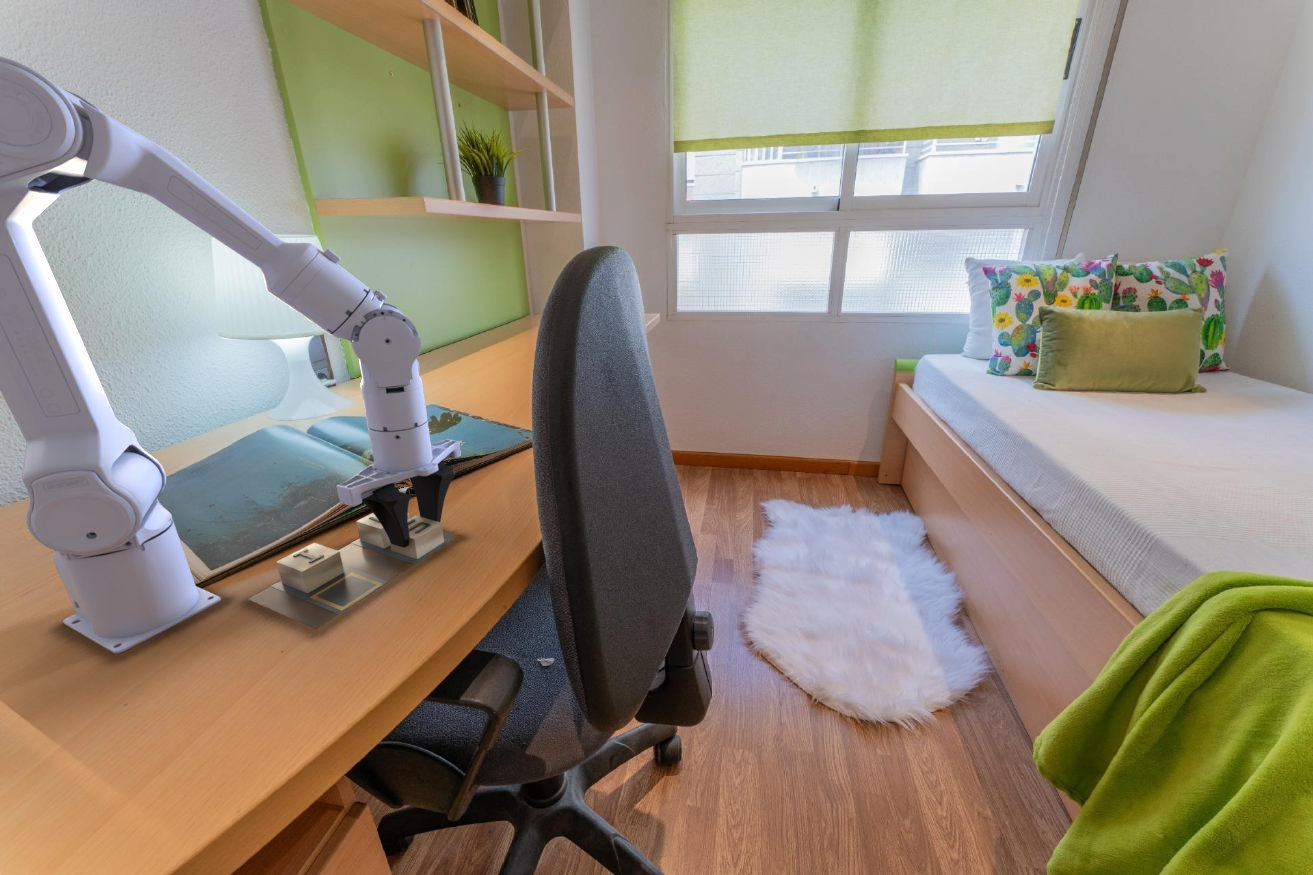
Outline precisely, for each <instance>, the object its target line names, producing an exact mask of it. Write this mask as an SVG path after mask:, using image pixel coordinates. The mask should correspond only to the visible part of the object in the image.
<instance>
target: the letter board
mask: <svg viewBox="0 0 1313 875" xmlns="http://www.w3.org/2000/svg"><path fill="white" fill-rule="evenodd" d="M443 537H444V542H443V543H442V544H440V545H439V546H437V547H436V548H434V549H432V550H431V551H429V552H428V553H426V554H425V555H423V556H422V557H420V558H419V559H415V558H412V557H409V556H406V555H403V554H400V553H397V552H394V551H391V546H388V547H387V548H385V549H384V548H381V547H378V546H375V545H372V544H369V543H366V542H363V541H360V537H359V538H357V539H355V540H354V541H352V542H350V544H347V545H345V546H344V547H342V548H340V549H338V550H337V551H340V555H341V559H342V564H343V568H344V573H342V574H340V575H339V576H337V577H335V578H333V579H332V580H330V581H328V582H327V583H325V584H323V585H322V586H320V587H318V588H316V589H315V590H313V591H311V592H310V593H305V592H303V591H300V590H298V589H295V588H293V587H291V586H288V585H286V584H283V583H282V581H281V580H279V581H277V582H276V583H274V584H272V585H270V587H268V588H266V589H264V590H262V591H260V592H258V593H256V594H255V595H253V596H251V597H249V598H248V599H247V600H248V601H251V602H253V603H255V604H257V605H260V606H262V607H264V608H267V609H269V610H271V611H273V612H275V613H278V614H280V615H281V616H285V617H287V618H289V619H291V620H293V621H296V622H298V623H301V624H303V625H305V626H308V627H310V628H311V629H314V630H317V629H319V628H320V627H322V626H323V625H325V624H327V623H328V622H329V621H331V620H333V619H335V618H336V617H337V616H339V615H340V614H342V613H344V612H345V611H347V610H348V609H350V608H351V607H353V606H354V605H356V604H357V603H359V602H361V601H362V600H363V599H365V598H367V597H368V596H370V595H371V594H373V593H374V592H376V591H378V590H379V589H380V588H382V587H383V586H385V585H387V584H388V583H389V582H391V581H392V580H394V579H395V578H397V577H399V576H400V575H401V574H403V573H404V572H406V571H408V570H409V569H411V568H412V567H414V566H415V565H417V564H418V563H420V562H421V561H423V560H425V559H426V558H428V557H429V556H431V555H433V553H435V552H437V551H438V550H439V549H441V548H443V547H445V546H446V545H447V544H449V543H451V542H452V541H454V540H455V539H456V538H458V537H460V534H457V533H453V532H449V531H446V530H443Z"/></svg>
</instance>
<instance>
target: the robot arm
mask: <svg viewBox="0 0 1313 875" xmlns="http://www.w3.org/2000/svg"><path fill="white" fill-rule="evenodd" d="M93 181H98V182H102V183H105V184H108V185H112V186H116V187H119V188H122V189H127V190H130V191H132V192H133V191H134V192H137V193H141V194H143V195H147V196H149V197H151V198H153V199H155V200H156V201H158V202H160V203H161V204H163V205H164V206H166V207H167V208H168V209H170V210H172V211H173V212H175V213H176V214H177V215H179V216H181V217H182V218H184V219H185V220H187V221H188V222H189V223H191V224H192V225H194V226H196V227H197V228H199V229H200V230H202V231H203V232H204V233H206V234H208V235H209V236H211V237H212V238H214V239H215V240H216V241H218V242H220V243H222V244H223V245H224V246H225V247H227V248H228V249H230V250H231V251H233V252H235V253H237V254H238V256H239V255H240V256H241V257H242V258H244V259H245V260H247V261H249V262H250V263H251V264H252V265H254V266H256V268H257V267H258V268H259V269H260V271H261V273H262V276H263V280H264V285H265V289H266V291H267V293H269V294H270V295H271V296H273V297H274V298H276V299H277V300H279V301H280V302H282V303H283V304H285V306H288V307H289V308H290V309H292V310H293V311H295V312H297V313H298V314H300V315H301V316H302V317H304V318H305V319H307V320H308V321H310V322H311V323H313V324H314V325H316V327H318V328H320V329H321V330H323V331H324V332H325V333H327V334H329V335H330V336H331V337H333V338H335V339H343V340H346V341H348V342H350V343H351V348H352V350H353V352H354V355H355V356H356V358H358V362H359V363H358V364H359V367H360V373H361V381H360V383H359V384H360V385H359V386H360V391H361V398H362V402H363V408H364V413H365V419H366V424H367V425H366V426H367V430H368V436H369V441H370V446H371V447H370V448H371V452H372V459H373V462H372V463H371V464H369V465H368V466H366V467H365V468H364V469H362V470H360V471H359V472H358V473H356V474H355V475H353V476H352V477H350V478H349V479H347V480H345V481H343V482H341V483H339V484H336V485H335V486H336V492H337V496H338V502H339V504H343V505H346V506H350V507H352V508H354V507H357V506H359V505H360V504H362V503H363V504H364V505H365V506H366V507H367V508H368V509H369V510H370V512H372V513H374V515H375V516H376V517H377V519H378V520H379V522H380V523H381V525H382V526H383V528H384V530H385V532H386V534H387V536H388V538H389V540H390V542H391V544H393V545H396V546H399V547H403V548H405V547H406V546H408V545H409V538H410V536H409V528H408V520H407V519H408V513H409V504H410V500H411V495H412V494H410V493H407V492H406V493H402V492H400V491H399V487H396V484H398V483H400V482H403V481H405V480H410V481H411V483H412V486H411V487H412V489H413V491H414V494H415V497H416V502H417V507H418V512H419V516H420V517H423V518H426V519H430V520H433V521H437V522H441V523H442V515H443V509H444V503H445V499H446V496H447V492H448V490H449V488H450V485H451V483H452V481H453V479H454V477H455V468H454V467H453V466H451V465H447V464H446V463H444V461H445V460H447V459H449V458H450V459H457V458H461V457H460V456H461V449H460V440H456V439H450V438H445V439H443V440H440V441H436V442H433V443H432V442H431V435H430V427H429V421H428V414H427V405H426V399H425V392H424V384H423V378H422V377H421V376H420V362H419V361H418V358H419V355H420V353H421V350H422V345H423V343H422V342H423V340H422V338H421V337H419V332H418V331H417V328H416V326H415V325H414V323H413V322H412V321H411V320H410V318H408V317H407V316H406V315H405V314H404V313H403V312H402V311H401V310H400V309H399V308H398V306H396V305H395V304H392V303H389V302H387V301H386V300H387V298H388V296H387V294H385V293H384V292H383V291H381V289H378V288H377V289H376V290H372V289H371V288H370V287H369V286H368V285H366V284H365V283H364V282H362V281H361V280H359V279H358V278H357V277H355V275H353V274H352V273H351V272H349V271H348V270H346V268H344V267H343V266H342V265H340V264H339V262H340V261H341V257H340V256H339V255H338V254H337V253H335V252H334V251H333V250H331V249H330V248H326V249H325V250H324V251H322V250H320V248H318V247H317V246H315V244H313V243H310V242H285V241H284V240H283V239H282V238H280V237H279V236H278V235H276V234H275V233H274V232H273V231H271V230H270V229H269V228H268V227H266V226H265V225H263V223H261V222H260V221H258V219H256V218H255V217H254V216H252V215H251V214H250V213H249V212H247V211H246V210H245V209H243V208H242V207H241V206H239V204H237V203H235V201H233V200H232V199H231V198H229V197H228V196H227V195H226V194H224V193H223V192H222V191H221V190H219V189H218V188H217V187H216V186H214V185H213V184H211V183H210V182H209V181H207V180H206V179H205V178H204V177H203V176H201V175H200V174H199V173H198V172H196V171H195V170H194V169H192V168H191V167H190V166H189V165H187V164H186V163H185V162H184V161H182V160H181V159H180V158H178V157H177V156H176V155H175V154H174V153H172V152H171V151H169V150H168V149H166V148H165V147H163V146H161V145H159V144H158V143H156V142H154V141H153V140H151V139H149V138H148V137H146V136H145V135H143V134H141V133H140V132H138V131H136V130H135V129H132V128H131V127H129V126H127V125H126V124H124V123H122V122H121V121H119V120H117V119H115V118H113V117H112V116H110V115H108V114H107V113H104V112H103V111H102V110H101V109H99V107H97V106H96V105H95V104H94V103H92V102H91V101H89V100H88V99H85V98H84V97H82V96H80V95H78V94H76V93H74V92H72V91H69V90H67V89H64V88H62V87H61V86H58V85H57V84H55V82H53V81H52V80H50V78H48V77H46V76H45V75H43V74H42V73H40V72H39V71H36V70H35V69H33V68H31V67H30V66H27V65H25V64H23V63H21V62H19V61H16V60H13V59H10V58H7V57H3V56H0V393H1V395H2V397H3V399H4V401H5V403H6V405H7V407H8V409H9V410H10V412H11V414H12V416H13V418H14V420H15V422H16V424H17V427H18V428H19V430H20V432H21V434H22V436H23V438H24V440H25V444H26V446H25V454H24V459H23V465H22V472H21V480H22V483H23V485H24V486H25V488H26V491H27V493H28V496H29V506H28V508H27V513H26V525H27V529H28V532H30V535H31V536H32V537H33V538H34V539H35V541H37V542H38V543H40V544H41V545H43V546H44V547H46V548H48V549H50V550H53V551H54V552H53V563H54V566H55V569H56V571H57V573H58V575H59V577H60V579H61V582H62V584H63V586H64V588H65V591H66V592H67V595H68V598H69V599H70V601H71V603H72V606H73V608H74V611H75V613H74V614H71V615H70V616H68V617H66V618H64V619H63V620H62V623H63V624H64V625H65V626H67V627H68V628H70V629H72V630H74V631H75V632H77V633H79V634H81V635H82V636H84V637H85V638H87V639H89V640H91V641H92V642H94V643H96V644H97V645H99V646H101V647H103V648H104V649H106V650H107V651H109V652H111V653H113V654H116V655H117V654H121V653H124V652H125V651H127V650H130V649H132V648H134V647H135V646H137V645H139V644H141V643H143V642H145V641H147V640H149V639H151V638H152V637H155V636H157V635H159V634H160V633H162V632H164V631H166V630H168V629H170V628H172V627H174V626H175V625H177V624H180V623H181V622H184V621H185V620H187V619H189V618H191V617H193V616H195V615H197V614H198V613H201V612H203V611H205V610H206V609H208V608H210V607H212V606H214V605H216V604H218V603H220V602H221V600H222V598H221V596H219V595H217V594H214V593H212V592H210V591H208V590H205V589H203V588H201V587H199V586H197V585H196V582H195V579H194V577H193V574H192V570H191V569H190V565H189V562H188V560H187V557H186V554H185V551H184V549H183V545H182V542H181V540H180V537H179V534H178V530H177V528H176V525H175V522H174V519H173V516H172V513H171V512H170V511H169V510H168V509H166V508H165V507H164V506H163V505H162V504H161V503H160V502H159V499H158V497H159V496H160V495H162V492H163V491H164V489H165V487H166V483H167V474H166V471H165V469H164V467H163V465H162V464H161V462H160V461H159V460H158V459H157V458H155V457H154V456H153V455H151V454H150V453H148V452H147V451H146V450H145V449H144V448H143V447H142V445H140V443H139V441H138V439H137V437H136V434H135V432H134V431H133V430H132V429H130V428H129V427H128V426H127V425H125V424H123V423H122V422H121V421H119V420H118V419H117V417H116V415H115V413H114V410H113V408H112V406H111V403H110V402H109V400H108V397H107V394H106V392H105V390H104V387H103V385H102V383H101V380H100V379H99V376H98V374H97V372H96V369H95V368H94V365H93V363H92V360H91V358H90V355H89V354H88V351H87V349H86V346H85V345H84V344H85V343H84V342H83V339H82V337H81V335H80V333H79V331H78V328H77V326H76V323H75V321H74V319H73V317H72V315H71V312H70V310H69V308H68V305H67V303H66V300H65V299H64V297H63V293H62V292H61V290H60V287H59V285H58V282H57V281H56V278H55V276H54V274H53V271H52V269H51V267H50V264H49V262H48V259H47V258H46V256H45V253H44V251H43V249H42V247H41V244H40V242H39V240H38V237H37V235H36V232H35V230H34V227H33V225H32V224H33V221H35V219H36V218H37V217H38V216H40V214H41V213H43V211H45V210H46V209H47V208H48V207H49V206H50V205H52V203H53V202H54V201H56V200H57V199H58V198H59V197H60V196H61V195H62V194H63V193H64V192H67V191H69V190H72V189H74V188H77V187H79V186H80V187H81V186H82V185H85V184H88V183H92V182H93ZM385 301H386V302H385Z"/></svg>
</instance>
